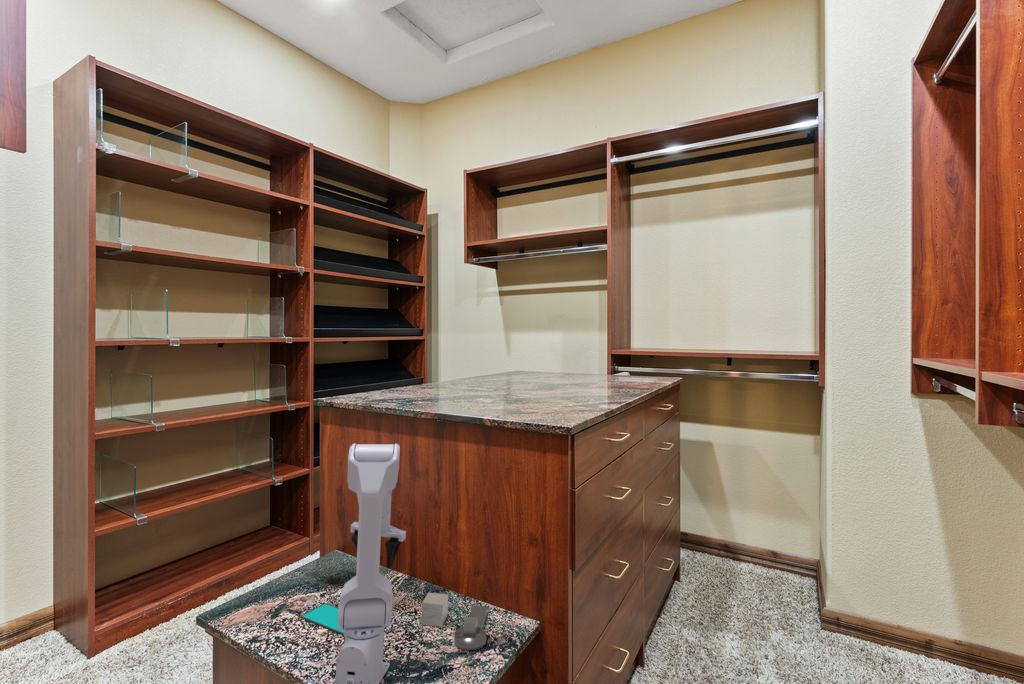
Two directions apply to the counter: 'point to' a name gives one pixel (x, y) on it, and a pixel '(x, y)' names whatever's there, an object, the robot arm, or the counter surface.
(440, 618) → the brushed metal cube
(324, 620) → the smartphone
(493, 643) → the counter surface
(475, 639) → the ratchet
